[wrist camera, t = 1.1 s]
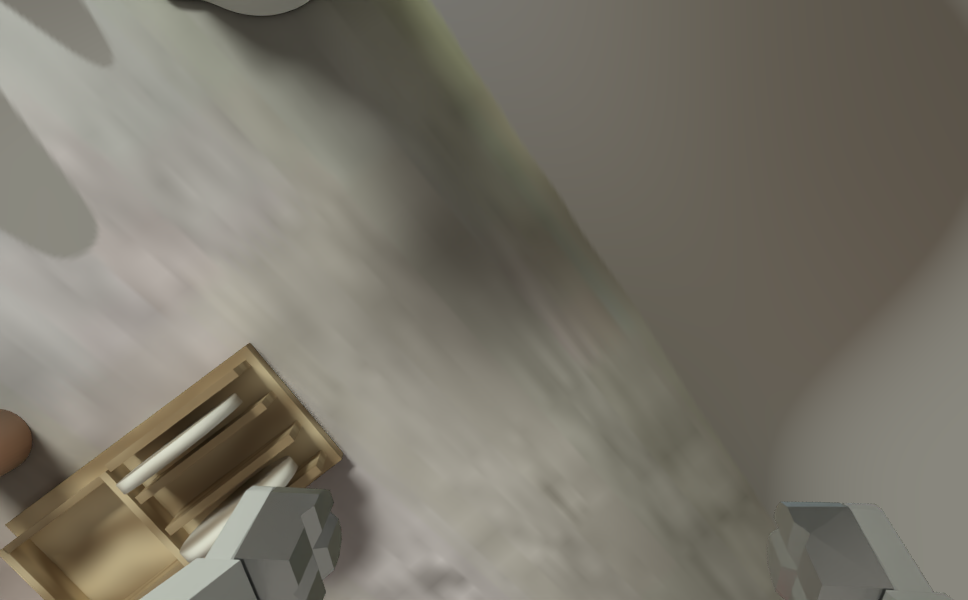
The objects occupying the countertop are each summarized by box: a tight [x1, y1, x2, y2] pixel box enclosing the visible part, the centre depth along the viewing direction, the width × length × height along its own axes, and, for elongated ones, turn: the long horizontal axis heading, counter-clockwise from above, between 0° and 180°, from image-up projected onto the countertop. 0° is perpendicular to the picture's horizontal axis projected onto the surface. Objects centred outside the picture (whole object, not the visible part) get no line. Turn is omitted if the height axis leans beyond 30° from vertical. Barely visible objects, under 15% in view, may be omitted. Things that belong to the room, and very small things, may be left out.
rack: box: [0, 343, 343, 600], centre depth 45 cm, size 13×24×12 cm, turn 127°
